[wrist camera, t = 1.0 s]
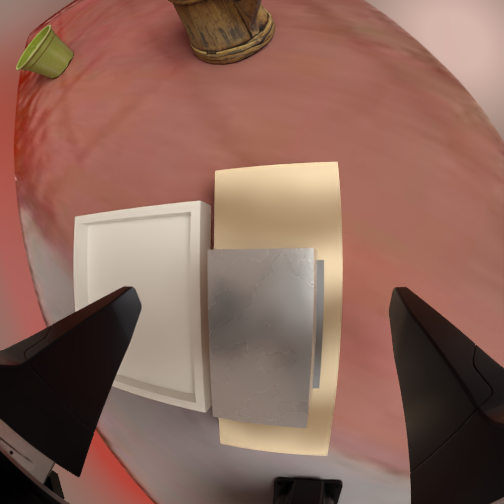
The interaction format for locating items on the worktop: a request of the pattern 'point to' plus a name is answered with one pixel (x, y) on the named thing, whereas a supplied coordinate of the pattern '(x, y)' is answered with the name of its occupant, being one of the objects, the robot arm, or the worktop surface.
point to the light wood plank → (328, 276)
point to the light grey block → (262, 334)
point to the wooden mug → (225, 28)
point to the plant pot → (45, 54)
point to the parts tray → (154, 294)
